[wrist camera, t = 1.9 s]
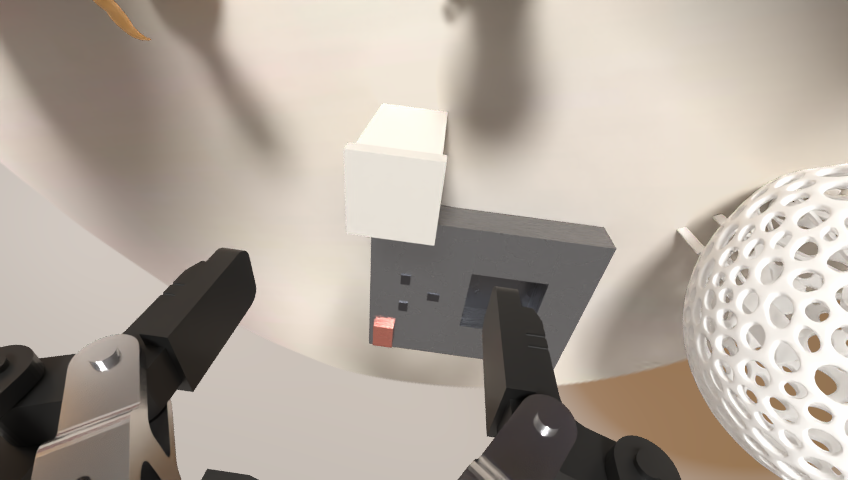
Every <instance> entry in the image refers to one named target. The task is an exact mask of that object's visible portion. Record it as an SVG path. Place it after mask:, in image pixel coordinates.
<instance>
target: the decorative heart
mask: <svg viewBox="0 0 848 480" xmlns="http://www.w3.org/2000/svg"><path fill="white" fill-rule="evenodd" d="M797 189H800V190H797ZM839 189H848V163H846V164H839V165H833V166H827V167H820V168H812V169H805V170H800V171H796V172H792V173H789V174H786V175H783V176H780V177H778V178H776V179H774V180H772V181H770V182H768V183H767V184H765V185H764V186H762V187H761V188H759V189H758V190H757V191H756V192H754V193H753V194H752V195H751V196H750V197H749V198H747V199H746V200H745V201H744V202H743V203H742V204H741V205H740V206H739V207H738V208H737V209H736V210H735V211H734V212H733V213H732V214H731V215H730V216H729V218H726V217H725V216H724V215H723V214H719V215H716V216H713V219H714V220H715V221H716V222H717V223H718V224H719V225H720V227H719V228H718V229H717V231H716V232H715V233H714V235H713V236H712V237H711V239H710V240H709V242H708V243H707V245H706V246H705V247H704V246H703V245H702V244H701V243H700V242H699V240H698V239H697V238H696V237H695V236H694V235H693V234H692V233H691V232H690V231H689V229H688V228H687V227H683V228H680V229H677V231H678V233H679V234H680V235H681V236H682V237H683V238H684V239H685V241H686V242H687V243H688V244H689V245H690V246H691V248H692V249H693V250H694V251H695V252H696V253H697V255H700V254H701V255H700V256H699V258H698V261H697V263H696V265H695V267H694V270H693V273H692V276H691V278H690V281H689V284H688V287H687V290H686V295H685V301H684V307H683V337H684V345H685V350H686V354H687V358H688V362H689V366H690V369H691V372H692V374H693V376H694V379H695V382H696V384H697V386H698V388H699V391H700V392H701V394H702V396H703V398H704V400H705V401H706V403H707V405H708V406H709V408H710V409H711V411H712V413H713V414H714V416H715V417H716V419H717V420H718V421H719V422H720V424H721V425H722V426H723V427H724V428H725V430H726V431H727V432H728V433H729V434H730V436H732V438H733V439H734V440H735V441H736V442H737V443H738V444H739V445H740V446H741V447H742V448H743V449H744V450H745V451H746V452H747V453H749V454H750V455H751V456H752V457H753V458H754V459H755V460H757V461H758V462H759V463H760V464H761V465H763V466H764V467H766V468H767V469H768V470H770V471H771V472H773V473H774V474H776V475H777V476H779V477H780V478H782V479H783V480H848V403H844V402H848V347H847V346H846V341H847V340H848V269H847V270H846V271H840V270H838V269H836V268H834V267H832V266H830V265H828V264H827V261H828V260H832V261H836V262H839V263H842V264H844V265H845V266H847V268H848V195H840V193H841V190H839ZM802 198H809V199H807V200H805V201H804V200H803V199H802ZM770 200H772V201H771V202H770V204H769V206H768V209H767V210H766V211H764V212H763V213H761V212H760V209H759V208H760V207H761V206H762V205H763V204H765V203H767V202H768V201H770ZM791 201H795V202H791ZM822 210H824V211H822ZM826 211H827V212H826ZM804 214H805V215H804ZM803 215H804V216H803ZM778 216H783V217H785V220H783V219H780V218H779V217H778ZM802 216H803V217H802ZM800 217H802V218H800ZM772 219H773V220H775V221H776V222H777V223H778V224H779V225H780V226H779V227H778V228H776V229H775V230H774V229H773V225H772ZM821 219H823V220H826V221H824V222H823V221H822V220H821ZM766 225H767V228H768V230H769V232H765V228H766ZM798 226H803V227H807V228H810V229H802V228H800V227H798ZM750 231H751V233H752V234H750V233H749V232H750ZM734 234H735V235H734ZM733 235H734V237H733V238H732V240H731V241H730V242H729V243H728V241H729V239H730V238H731V237H732V236H733ZM835 235H838V236H837V237H836V236H835ZM807 242H814V243H815V244H816V245H817V247H818V253H817V255H810V256H809V255H807V254H804V253H802V252H800V251H798V249H799V248H800V247H801V246H802V245H803V244H805V243H807ZM753 248H754V251H753V253H752V254H751V255H750V256H749V254H750V252H751V250H752V249H753ZM736 251H738V257H737V259H736V260H735V261H734V262H733V261H732V259H731V258H730V257H731V254H733V253H734V252H736ZM775 261H779V262H782V263H783V265H781V266H779V265H777V264H776V263H775ZM744 269H748V276H747V278H746V279H745V277H744V276H743V275H742V273H741V272H740V271H742V270H744ZM803 273H812V276H811V277H810V278H807V279H804V278H800V277H798V275H800V274H803ZM736 276H737V277H738V278H739V279H740V281H741V282H742V285H737V284H736ZM779 276H780V277H779ZM708 278H709V280H708ZM721 279H722V280H723V281H724V282H723V284H722V285H721V286H719V283H720V280H721ZM822 280H823V283H822ZM706 284H707V285H706ZM806 287H811V288H813V289H815V290H814V291H810V292H806ZM843 287H844V288H843ZM841 288H843V290H842V293H836V292H837V291H838V290H839V289H841ZM726 296H727V297H728V298H729V300H730V302H729V303H726ZM836 300H841V301H840V305H839V304H838V302H837V301H836ZM711 302H712V304H711ZM812 303H820V304H818V305H814V304H812ZM701 308H702V311H701ZM728 311H729V314H728V317H727V319H726V320H724V319H723V317H724V314H725V313H726V312H728ZM792 313H793V315H792V318H791V320H789V319H788V318H787V317H786V316H785V315H787V314H792ZM822 313H829V317H828V318H827V319H826V320H825V321H823V322H820V319H819V315H820V314H822ZM733 327H734V328H733ZM840 327H841V328H842V330H836V329H838V328H840ZM732 328H733V329H732ZM813 335H817V336H818V337H819V340H820V349H819V350H818V351H817V352H814V353H812V352H811V351H810V349H809V347H808V339H809V338H810V337H811V336H813ZM707 339H708V340H709V342H710V344H711V348H712V353H710V351H709V349H708V346H707ZM734 341H735V342H736V344H737V346H738V348H737V347H736V345H735V343H734ZM724 347H725V348H727V349H728V351H729V352H730V356H729V355H728V354H726V353H725V351H724ZM758 347H761V348H760V349H759V350H755V349H756V348H758ZM796 360H797V361H796ZM755 361H758V362H760V363H761V364H762V365H763V366H764V367H765V368H766V369H765V368H762V367H760V366H759V365H758V364H757V363H756V362H755ZM722 365H723V366H724V368H725V369H726V373H725V371H724V369H723V366H722ZM745 365H746V367H747V370H748V374H747V375H746V373H745ZM782 366H785V367H787V368H789V369H790V370H791V371H792V373H790V372H785V371H784V370H783V368H782ZM836 367H837V368H839V369H841V370H843V371H844V372H843V371H840V370H839V369H837V368H836ZM817 369H818V370H820V371H822V372H824V373H825V374H827V375H828V376H829V377H831V378H832V379H833V380H834V381H835V383H836V384H837V390H836V391H835V392H834V393H832V394H830V395H825V394H824V393H823V392H822V391H821V390H820V389H819V388H818V387H817V385H816V383H815V379H814V375H815V371H816V370H817ZM756 375H758V376H760V377H761V378H762V379H763V380H764V382H765V386H759V385H757V383H756V381H755V377H756ZM786 383H789V384H790V385H791V386H792V387H793V388H794V389H795V391H796V396H791V395H789V394H788V393H787V392H786V391H785V389H784V385H785V384H786ZM747 390H750V391H752V392H753V393H754V394H755V396H756V398H757V401H758V402H757V404H756V403H754V402H753V401H752V400H751V399H750V398H749V397H748V395H747V394H746V391H747ZM736 395H737V396H736ZM771 397H774V398H776V399H777V400H779V401H780V402H781V403H782V404H783V405H784V406H785V407H786V410H785V411H780V410H776V409H774V408H773V407H771V405H770V402H769V400H770V398H771ZM808 406H812V407H817V408H820V409H822V410H825V411H826V412H828V413H830V414H831V415H832V420H831V421H830V422H822V421H820V420H817V419H816V418H814V417H812V415H810V413H809V412H808ZM762 413H764V414H765V415H767V416H768V418H769V419H770V420H771V421H772V423H773V424H770V423H769V422H767V421H766V420H765V419H764V417H763V415H762ZM786 420H789V421H791V422H788V421H786ZM811 439H813V440H817V441H819V442H821V443H823V444H824V445H825V446H826V447H827V448H828V449H829V451H830V452H828V451H825V450H823V449H821V448H819V447H818V446H817V445H815V444H814V443H813V442H812V440H811ZM806 461H807V462H810V463H812V464H814V465H815V466H816V467H817V468H818V469H819V470H818V469H817V468H814V467H813V466H811V465H810V464H808V463H807V462H806ZM833 466H835V467H836V468H837V469H838V470H839V471H840V472H841V473H842V475H837V474H835V473H834V472H833V470H832V469H831V468H832V467H833Z"/></svg>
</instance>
